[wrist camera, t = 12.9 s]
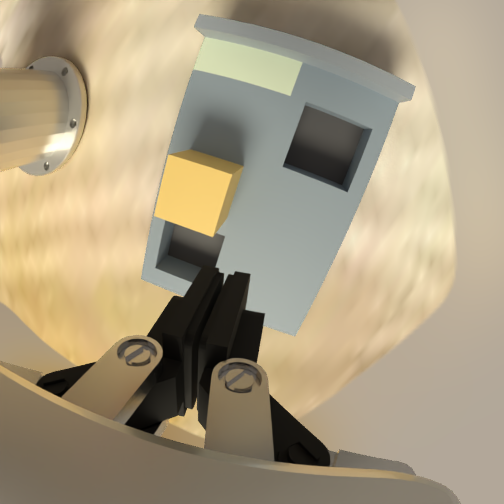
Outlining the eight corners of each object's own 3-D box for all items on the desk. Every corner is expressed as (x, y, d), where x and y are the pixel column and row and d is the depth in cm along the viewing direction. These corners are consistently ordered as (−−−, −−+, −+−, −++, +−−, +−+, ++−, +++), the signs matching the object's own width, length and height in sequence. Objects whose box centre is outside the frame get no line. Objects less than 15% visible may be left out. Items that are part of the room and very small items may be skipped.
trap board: (154, 264, 28) (127, 293, 23) (219, 36, 20) (199, 14, 15) (295, 316, 28) (294, 355, 23) (390, 94, 20) (415, 86, 15)
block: (176, 200, 22) (153, 215, 19) (190, 149, 21) (168, 154, 17) (226, 218, 22) (212, 237, 19) (243, 166, 21) (232, 174, 17)
